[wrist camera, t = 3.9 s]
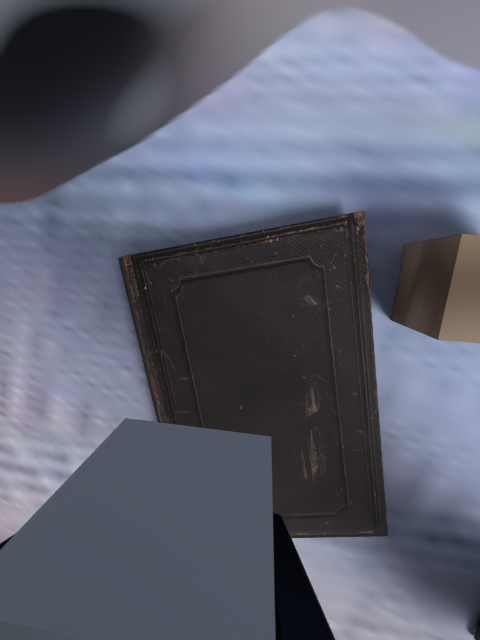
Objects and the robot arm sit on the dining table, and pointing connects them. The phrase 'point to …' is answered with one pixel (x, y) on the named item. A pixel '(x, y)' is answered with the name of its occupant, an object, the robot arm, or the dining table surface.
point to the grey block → (149, 543)
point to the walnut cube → (441, 288)
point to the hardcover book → (273, 360)
